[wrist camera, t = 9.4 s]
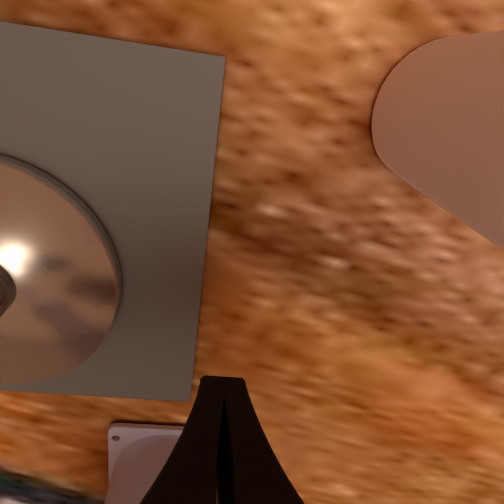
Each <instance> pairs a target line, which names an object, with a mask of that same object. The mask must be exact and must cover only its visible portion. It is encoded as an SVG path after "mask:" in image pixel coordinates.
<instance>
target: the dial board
mask: <svg viewBox="0 0 504 504" xmlns="http://www.w3.org/2000/svg"><path fill="white" fill-rule="evenodd" d="M225 59H226V57H222V56H216V55H210V54H203V53H197V52H191V51H184V50H178V49H172V48H166V47H159V46H153V45H147V44H141V43H134V42H128V41H122V40H115V39H109V38H103V37H97V36H90V35H84V34H78V33H71V32H65V31H59V30H53V29H46V28H40V27H34V26H27V25H21V24H15V23H9V22H2V21H0V155H4V156H7V157H11V158H14V159H17V160H19V161H21V162H24V163H26V164H29V165H31V166H33V167H35V168H37V169H39V170H41V171H42V172H44V173H46V174H48V175H50V176H51V177H53V178H54V179H56V180H57V181H59V182H60V183H61V184H63V185H64V186H66V187H67V188H68V189H69V190H71V191H72V192H73V193H74V194H75V195H76V196H77V197H79V198H80V199H81V200H82V201H83V202H84V203H85V204H86V206H87V207H88V208H89V209H90V210H91V211H92V212H93V213H94V215H95V216H96V217H97V219H98V220H99V222H100V223H101V224H102V226H103V227H104V229H105V231H106V232H107V234H108V236H109V238H110V240H111V242H112V244H113V247H114V249H115V252H116V254H117V258H118V262H119V266H120V271H121V282H122V286H121V298H120V302H119V307H118V310H117V312H116V315H115V317H114V320H113V322H112V324H111V327H110V329H109V331H108V334H107V335H106V337H105V339H104V340H103V342H102V343H101V345H100V346H99V347H98V349H97V350H96V351H95V352H94V353H93V354H92V355H91V356H90V357H89V358H88V359H87V360H85V361H84V362H83V363H82V364H80V365H78V366H77V367H75V368H74V369H72V370H70V371H68V372H66V373H64V374H62V375H59V376H57V377H53V378H50V379H47V380H43V381H38V382H33V383H25V384H0V390H5V391H21V392H37V393H53V394H70V395H86V396H102V397H118V398H135V399H151V400H167V401H184V402H190V397H191V387H192V378H193V368H194V358H195V349H196V339H197V329H198V320H199V310H200V300H201V291H202V281H203V271H204V262H205V252H206V242H207V233H208V223H209V213H210V204H211V194H212V184H213V175H214V165H215V155H216V146H217V136H218V126H219V117H220V107H221V97H222V88H223V78H224V68H225Z"/></svg>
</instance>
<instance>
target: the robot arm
mask: <svg viewBox="0 0 504 504" xmlns="http://www.w3.org/2000/svg"><path fill="white" fill-rule="evenodd" d="M115 435H116V436H115ZM108 474H109V487H108V490H107V494H106V498H105V501H104V504H304V502H303V501H302V499H301V498H300V496H299V495H298V493H297V492H296V490H295V489H294V487H293V485H292V484H291V482H290V481H289V479H288V477H287V476H286V474H285V472H284V471H283V469H282V467H281V465H280V463H279V462H278V460H277V458H276V456H275V454H274V452H273V450H272V448H271V446H270V444H269V442H268V440H267V438H266V436H265V434H264V432H263V429H262V427H261V425H260V423H259V421H258V418H257V416H256V413H255V411H254V408H253V405H252V403H251V400H250V397H249V394H248V391H247V387H246V383H245V381H244V380H243V378H234V377H219V376H203V377H202V378H201V380H200V386H199V390H198V394H197V397H196V400H195V403H194V405H193V408H192V411H191V413H190V415H189V418H188V420H187V422H186V424H185V426H167V425H149V424H131V423H113V424H111V425H110V426H109V429H108Z"/></svg>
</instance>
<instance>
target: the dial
mask: <svg viewBox="0 0 504 504" xmlns="http://www.w3.org/2000/svg"><path fill="white" fill-rule="evenodd" d="M121 286H122V282H121V271H120V266H119V262H118V258H117V254H116V252H115V249H114V247H113V244H112V242H111V240H110V238H109V236H108V234H107V232H106V231H105V229H104V227H103V226H102V224H101V223H100V222H99V220H98V219H97V217H96V216H95V215H94V213H93V212H92V211H91V210H90V209H89V208H88V207H87V206H86V204H85V203H84V202H83V201H82V200H81V199H80V198H79V197H77V196H76V195H75V194H74V193H73V192H72V191H71V190H69V189H68V188H67V187H66V186H64V185H63V184H61V183H60V182H59V181H57V180H56V179H54V178H53V177H51V176H50V175H48V174H46V173H44V172H42V171H41V170H39V169H37V168H35V167H33V166H31V165H29V164H26V163H24V162H21V161H19V160H17V159H14V158H11V157H7V156H4V155H0V384H25V383H33V382H38V381H43V380H47V379H50V378H53V377H57V376H59V375H62V374H64V373H66V372H68V371H70V370H72V369H74V368H75V367H77V366H78V365H80V364H82V363H83V362H84V361H85V360H87V359H88V358H89V357H90V356H91V355H92V354H93V353H94V352H95V351H96V350H97V349H98V347H99V346H100V345H101V343H102V342H103V340H104V339H105V337H106V335H107V334H108V331H109V329H110V327H111V324H112V322H113V320H114V317H115V315H116V312H117V310H118V307H119V302H120V298H121Z"/></svg>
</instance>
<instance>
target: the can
mask: <svg viewBox="0 0 504 504" xmlns="http://www.w3.org/2000/svg"><path fill="white" fill-rule="evenodd" d="M372 138H373V143H374V147H375V150H376V153H377V155H378V157H379V158H380V160H381V161H382V162H383V164H384V165H385V166H386V167H387V168H388V169H389V170H390V171H391V172H393V173H394V174H395V175H396V176H398V177H399V178H400V179H402V180H403V181H405V182H406V183H407V184H409V185H410V186H412V187H413V188H414V189H416V190H417V191H419V192H420V193H421V194H423V195H424V196H426V197H427V198H429V199H430V200H431V201H433V202H434V203H436V204H437V205H439V206H440V207H441V208H443V209H444V210H446V211H447V212H449V213H450V214H452V215H453V216H454V217H456V218H457V219H459V220H460V221H462V222H463V223H464V224H466V225H467V226H469V227H470V228H472V229H473V230H475V231H476V232H477V233H479V234H480V235H482V236H483V237H485V238H486V239H488V240H489V241H491V242H492V243H493V244H495V245H496V246H498V247H499V248H501V249H502V250H504V30H500V31H491V32H482V33H473V34H465V35H457V36H450V37H444V38H440V39H437V40H433V41H431V42H428V43H426V44H424V45H422V46H420V47H418V48H417V49H415V50H413V51H412V52H411V53H409V54H408V55H407V56H406V57H404V58H403V59H402V60H401V61H400V62H399V63H398V64H397V65H396V66H395V67H394V69H393V70H392V71H391V72H390V74H389V75H388V77H387V78H386V80H385V81H384V83H383V85H382V87H381V89H380V91H379V93H378V96H377V98H376V101H375V105H374V109H373V114H372Z"/></svg>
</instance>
